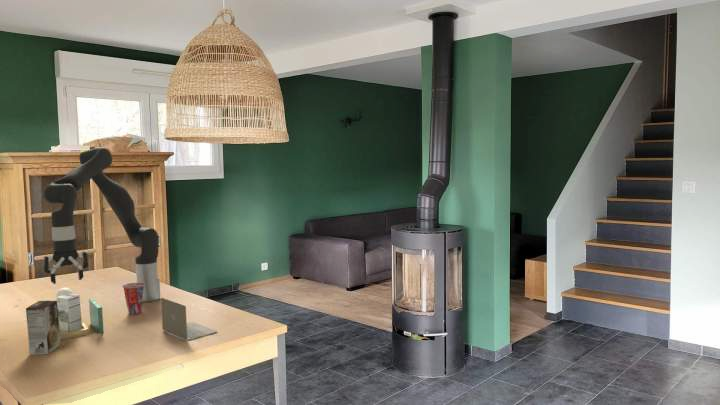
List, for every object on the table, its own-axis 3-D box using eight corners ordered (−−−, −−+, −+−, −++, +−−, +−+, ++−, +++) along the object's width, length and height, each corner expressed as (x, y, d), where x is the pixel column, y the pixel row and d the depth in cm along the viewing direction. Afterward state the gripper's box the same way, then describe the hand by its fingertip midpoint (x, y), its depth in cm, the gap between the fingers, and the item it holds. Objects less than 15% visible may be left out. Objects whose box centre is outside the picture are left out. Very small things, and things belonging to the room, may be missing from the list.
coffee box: (41, 345, 191) (38, 300, 190) (61, 344, 191) (57, 299, 190) (28, 355, 182) (24, 307, 180) (48, 354, 182) (45, 307, 181)
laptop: (217, 333, 201) (216, 298, 200) (186, 342, 192) (184, 306, 191) (192, 323, 214) (191, 291, 213) (162, 331, 205) (160, 297, 204)
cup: (150, 311, 232) (148, 283, 230) (134, 316, 224) (132, 288, 223) (134, 309, 235) (132, 281, 234) (118, 314, 228) (116, 286, 227)
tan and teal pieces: (94, 323, 216) (93, 298, 215) (103, 333, 203) (102, 307, 202) (51, 331, 207) (49, 305, 206) (58, 342, 194) (56, 314, 193)
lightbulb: (66, 315, 228) (64, 289, 227) (54, 315, 229) (52, 289, 228) (77, 311, 234) (75, 286, 233) (64, 311, 235) (62, 286, 234)
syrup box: (83, 331, 206) (80, 294, 204) (69, 336, 200) (67, 298, 199) (71, 330, 208) (69, 293, 206) (58, 335, 202) (55, 296, 201)
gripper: (83, 234, 208) (86, 276, 209) (40, 239, 199) (44, 282, 201) (87, 237, 202) (90, 280, 203) (43, 241, 193) (46, 286, 195)
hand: (67, 281), depth 202 cm, fingers open, 8 cm apart
